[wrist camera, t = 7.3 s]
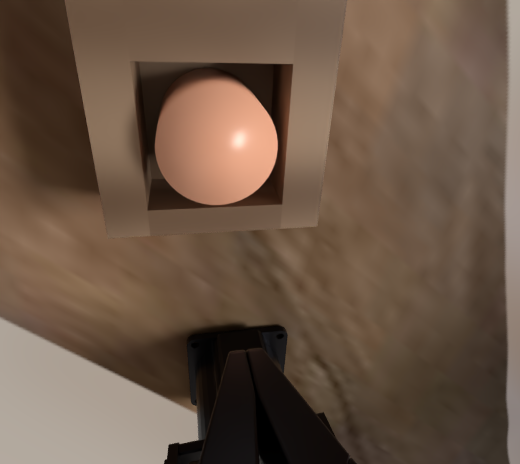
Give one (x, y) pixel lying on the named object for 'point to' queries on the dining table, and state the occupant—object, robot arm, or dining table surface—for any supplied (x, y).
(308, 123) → the button console
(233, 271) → the dining table surface
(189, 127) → the peach rounded dome
